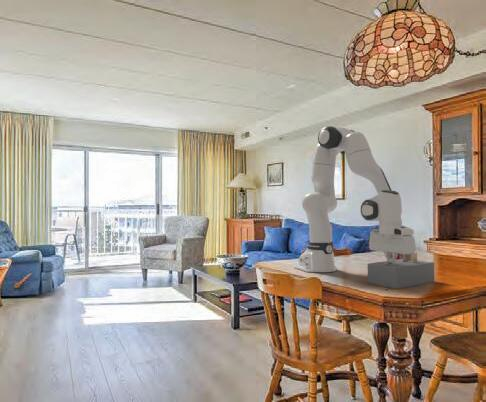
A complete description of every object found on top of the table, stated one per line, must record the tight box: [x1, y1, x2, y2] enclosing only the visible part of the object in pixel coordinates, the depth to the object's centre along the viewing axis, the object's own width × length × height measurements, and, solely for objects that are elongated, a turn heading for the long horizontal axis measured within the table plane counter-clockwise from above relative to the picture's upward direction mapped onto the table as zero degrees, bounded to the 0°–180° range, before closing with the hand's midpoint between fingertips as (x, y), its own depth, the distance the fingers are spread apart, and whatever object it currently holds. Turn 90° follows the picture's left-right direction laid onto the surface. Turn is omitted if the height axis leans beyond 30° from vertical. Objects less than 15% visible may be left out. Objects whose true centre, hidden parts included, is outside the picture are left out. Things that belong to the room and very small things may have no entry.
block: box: [367, 259, 435, 290], centre depth 160 cm, size 14×24×8 cm, turn 120°
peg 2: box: [403, 251, 418, 263], centre depth 163 cm, size 4×4×7 cm
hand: (391, 263), depth 157 cm, fingers closed, pressing on peg 1
